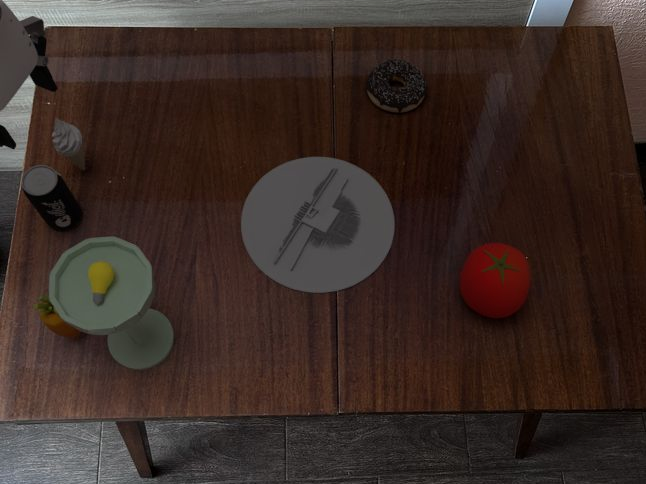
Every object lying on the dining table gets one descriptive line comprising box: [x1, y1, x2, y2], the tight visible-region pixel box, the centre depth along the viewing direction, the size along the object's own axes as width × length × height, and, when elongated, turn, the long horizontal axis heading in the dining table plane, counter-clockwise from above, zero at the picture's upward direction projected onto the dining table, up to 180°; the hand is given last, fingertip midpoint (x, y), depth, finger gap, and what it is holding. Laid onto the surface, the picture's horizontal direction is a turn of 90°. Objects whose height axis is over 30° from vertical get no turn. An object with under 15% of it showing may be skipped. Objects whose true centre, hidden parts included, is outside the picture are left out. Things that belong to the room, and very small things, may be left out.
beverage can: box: [21, 164, 83, 232], centre depth 120 cm, size 7×7×12 cm
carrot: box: [33, 295, 81, 339], centre depth 111 cm, size 5×5×15 cm
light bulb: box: [88, 261, 114, 305], centre depth 96 cm, size 3×6×4 cm, turn 174°
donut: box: [364, 58, 428, 114], centre depth 135 cm, size 11×12×4 cm
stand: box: [107, 308, 175, 371], centre depth 108 cm, size 11×11×21 cm
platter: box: [48, 236, 157, 336], centre depth 97 cm, size 14×14×2 cm
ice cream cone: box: [51, 116, 86, 172], centre depth 122 cm, size 5×5×15 cm
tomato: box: [459, 242, 532, 319], centre depth 117 cm, size 13×11×14 cm
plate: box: [240, 156, 396, 294], centre depth 126 cm, size 28×28×1 cm
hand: (26, 114), depth 89 cm, fingers open, 9 cm apart
